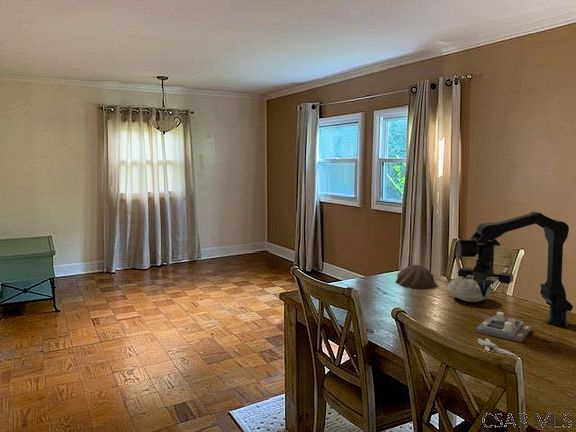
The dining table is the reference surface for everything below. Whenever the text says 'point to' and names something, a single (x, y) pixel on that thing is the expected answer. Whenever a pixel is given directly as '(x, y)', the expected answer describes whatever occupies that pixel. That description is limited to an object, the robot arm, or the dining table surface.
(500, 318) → the tab
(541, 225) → the robot arm
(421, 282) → the decorative dome
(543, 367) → the dining table surface
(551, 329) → the dining table surface
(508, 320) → the tab
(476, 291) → the grey rounded stone
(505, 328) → the tab
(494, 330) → the switch bank
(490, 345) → the pliers
